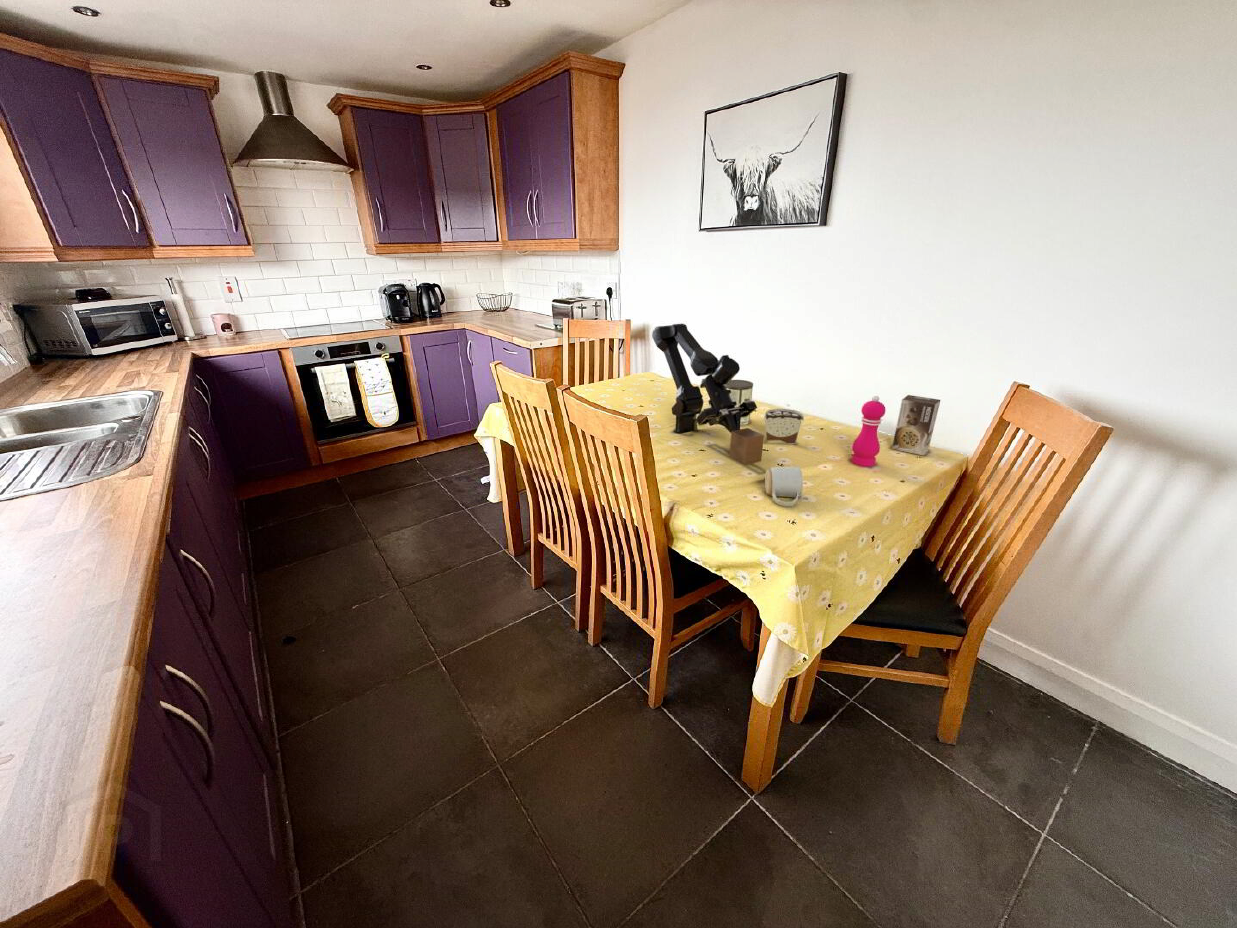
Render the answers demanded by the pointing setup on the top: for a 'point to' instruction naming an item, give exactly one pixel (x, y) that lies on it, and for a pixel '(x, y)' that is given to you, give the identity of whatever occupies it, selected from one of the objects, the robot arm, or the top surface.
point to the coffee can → (740, 394)
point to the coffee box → (915, 424)
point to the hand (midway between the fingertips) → (738, 437)
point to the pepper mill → (868, 434)
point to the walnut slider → (746, 446)
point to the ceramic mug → (784, 483)
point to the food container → (783, 425)
